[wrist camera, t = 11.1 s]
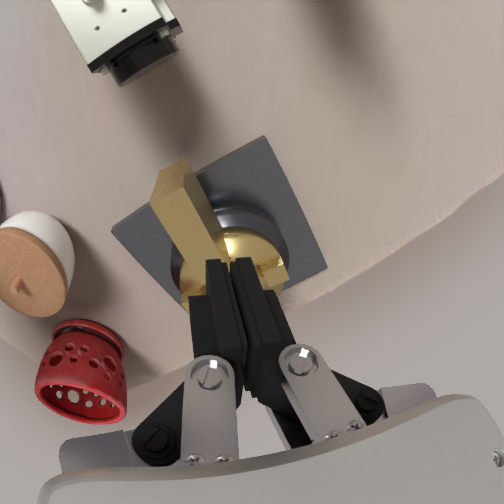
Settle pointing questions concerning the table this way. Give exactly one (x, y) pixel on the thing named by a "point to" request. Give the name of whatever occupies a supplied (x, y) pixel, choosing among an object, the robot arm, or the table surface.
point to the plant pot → (83, 373)
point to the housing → (232, 217)
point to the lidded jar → (35, 263)
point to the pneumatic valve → (121, 35)
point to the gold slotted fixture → (208, 234)
